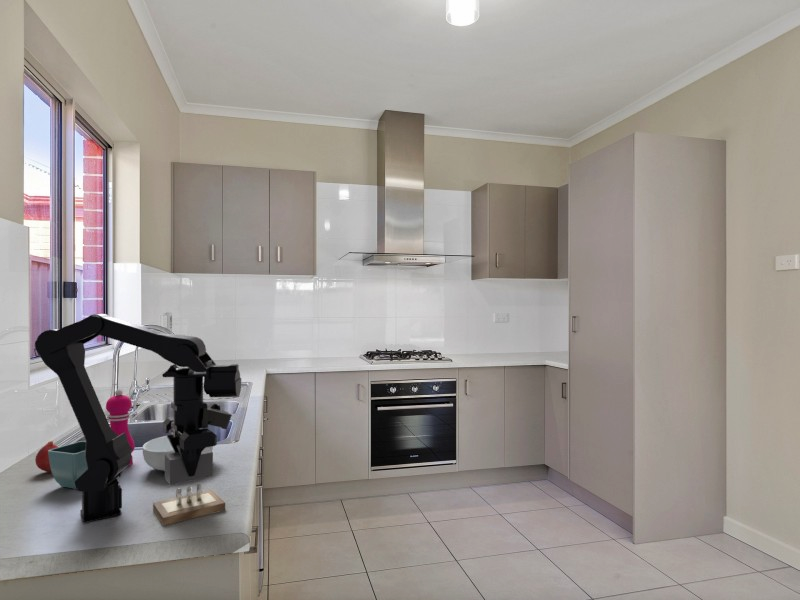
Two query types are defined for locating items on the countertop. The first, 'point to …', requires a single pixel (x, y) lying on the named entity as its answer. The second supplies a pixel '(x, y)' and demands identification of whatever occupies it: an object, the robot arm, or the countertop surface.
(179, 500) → the header pins
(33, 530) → the countertop surface
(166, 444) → the cereal bowl
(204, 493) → the pin board
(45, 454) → the onion
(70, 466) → the flower pot
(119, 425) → the pepper mill
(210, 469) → the block
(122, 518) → the countertop surface
